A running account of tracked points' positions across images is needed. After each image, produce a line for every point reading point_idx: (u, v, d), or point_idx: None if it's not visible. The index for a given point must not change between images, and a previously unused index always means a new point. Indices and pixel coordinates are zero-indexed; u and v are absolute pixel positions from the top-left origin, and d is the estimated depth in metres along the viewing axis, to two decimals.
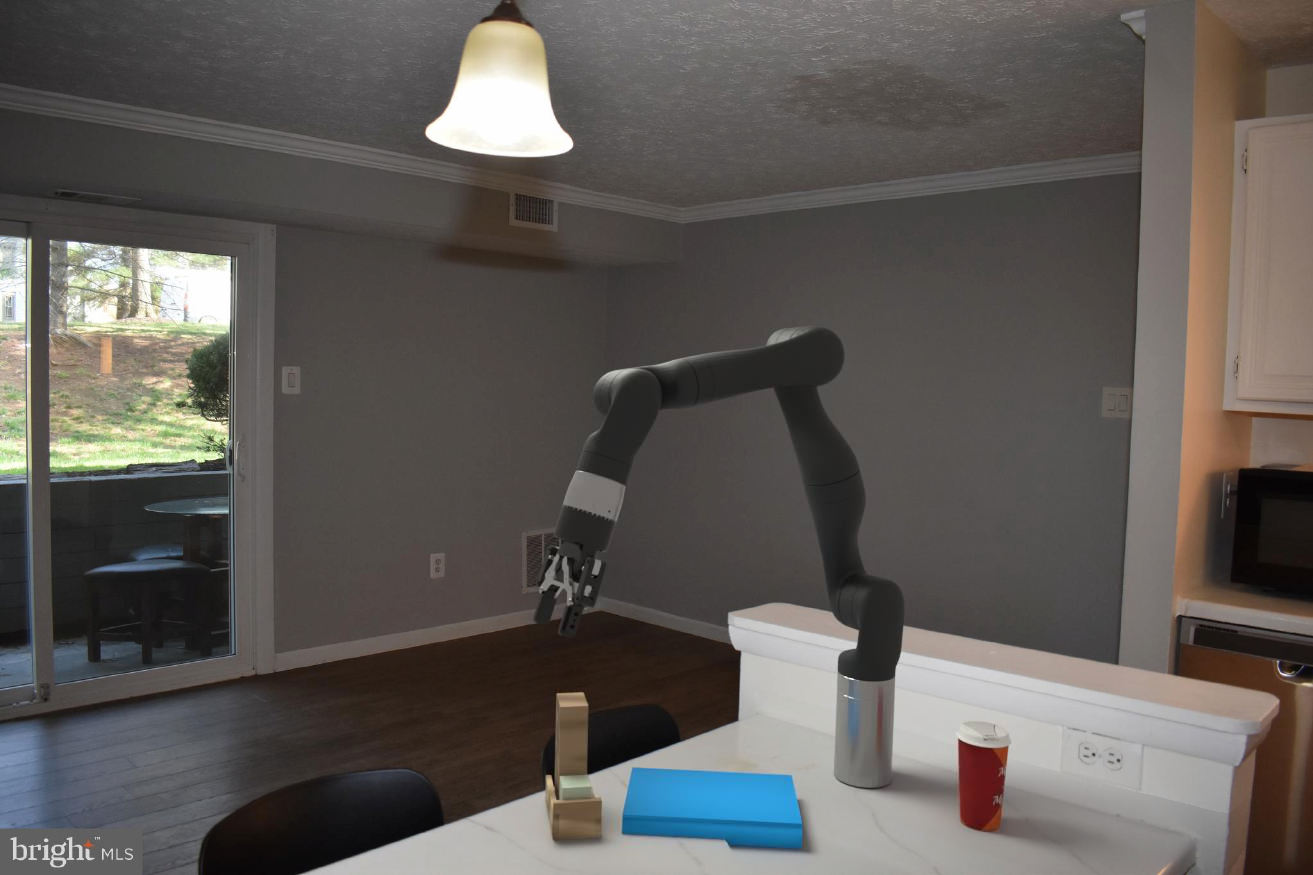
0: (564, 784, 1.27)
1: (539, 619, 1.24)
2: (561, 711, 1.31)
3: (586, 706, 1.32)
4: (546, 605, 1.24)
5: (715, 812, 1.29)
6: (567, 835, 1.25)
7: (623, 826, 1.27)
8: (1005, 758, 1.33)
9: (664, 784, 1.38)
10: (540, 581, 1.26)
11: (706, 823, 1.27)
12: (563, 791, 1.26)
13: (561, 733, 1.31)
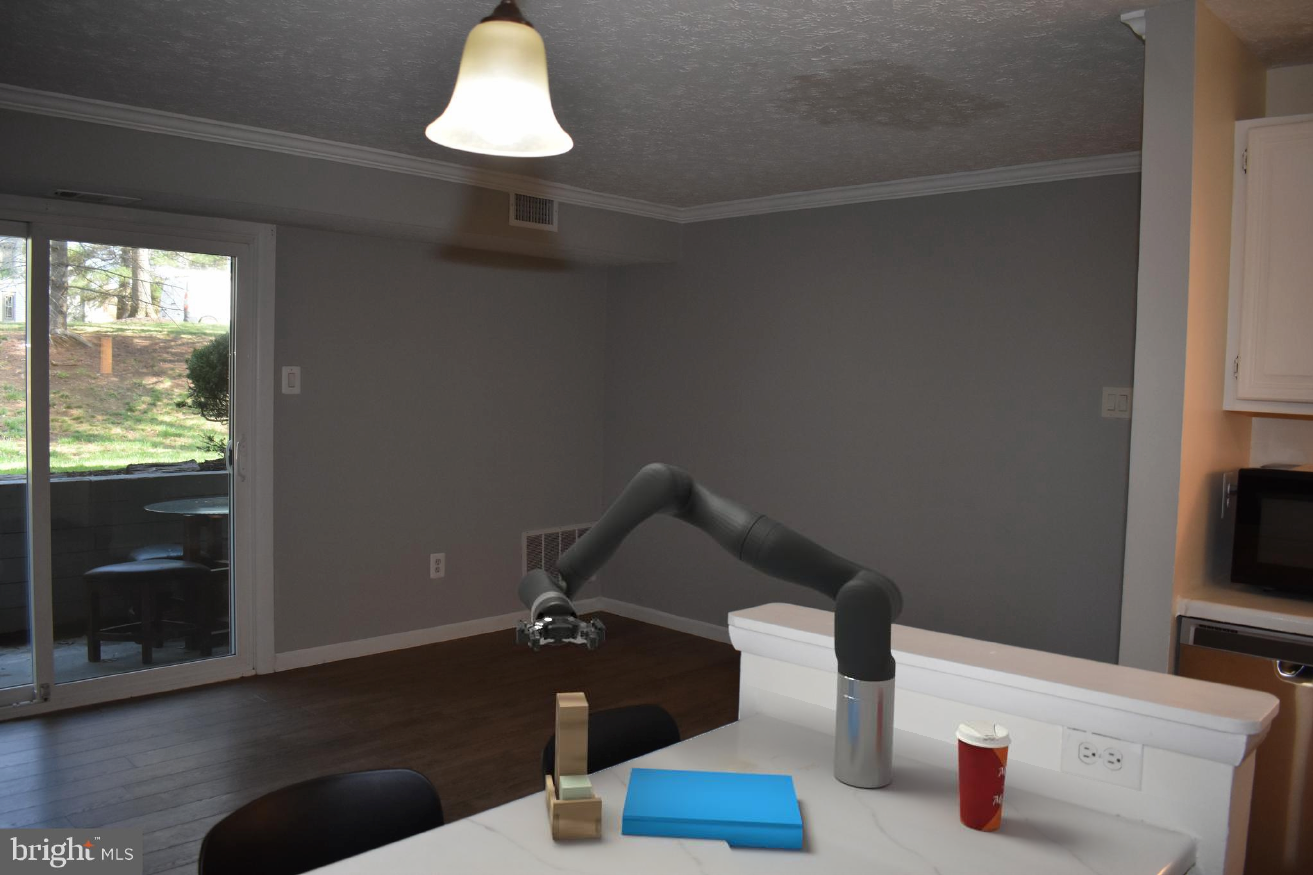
0: (564, 784, 1.27)
1: (589, 644, 1.45)
2: (561, 711, 1.31)
3: (586, 706, 1.32)
4: (587, 639, 1.47)
5: (715, 813, 1.29)
6: (567, 835, 1.25)
7: (623, 827, 1.27)
8: (1005, 758, 1.33)
9: (664, 785, 1.38)
10: (597, 640, 1.50)
11: (706, 823, 1.27)
12: (563, 791, 1.26)
13: (561, 733, 1.31)
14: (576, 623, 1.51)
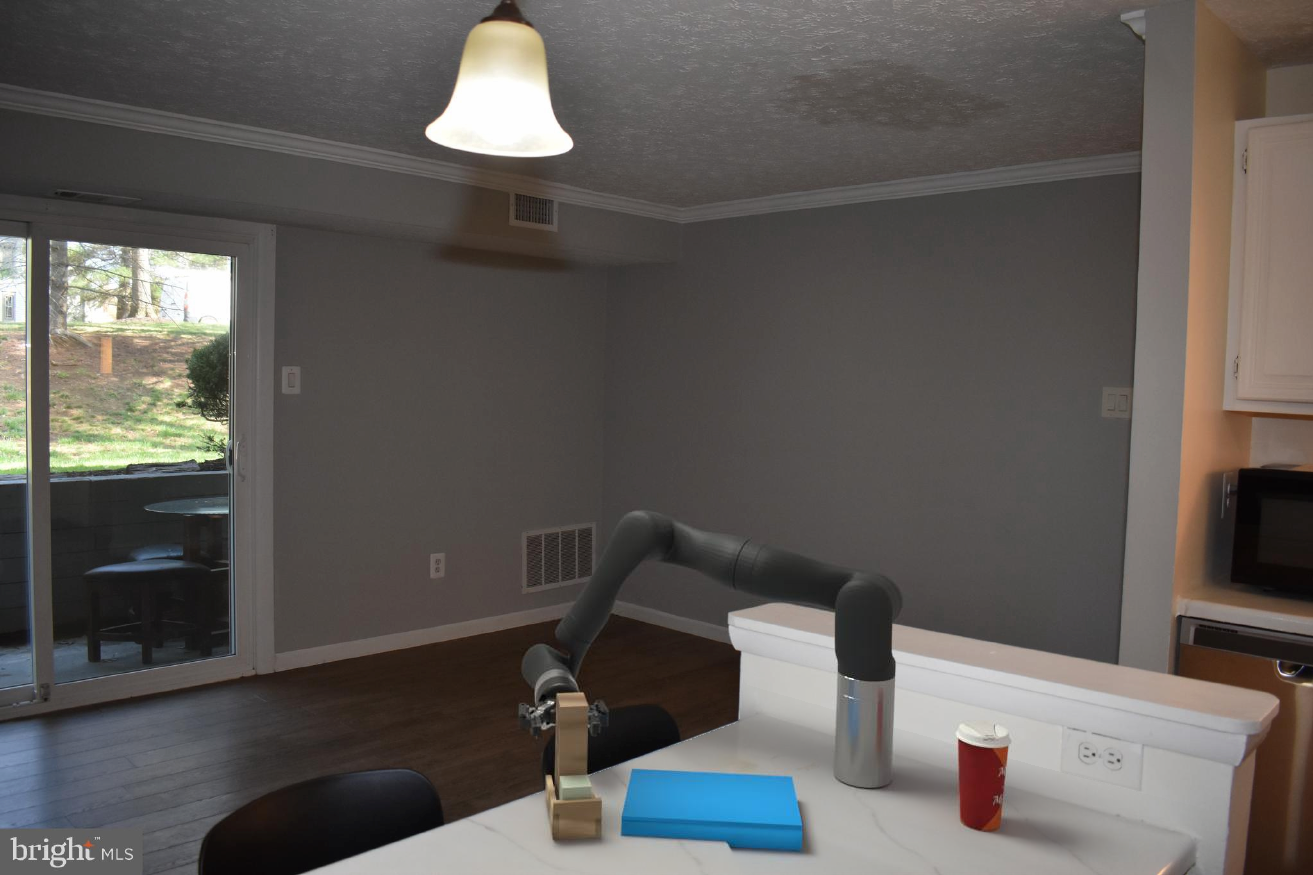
0: (564, 784, 1.27)
1: (591, 731, 1.42)
2: (561, 711, 1.31)
3: (586, 706, 1.32)
4: (590, 724, 1.44)
5: (715, 814, 1.29)
6: (567, 835, 1.25)
7: (622, 828, 1.27)
8: (1005, 758, 1.33)
9: (664, 786, 1.37)
10: None
11: (706, 824, 1.27)
12: (563, 791, 1.26)
13: (561, 733, 1.31)
14: None
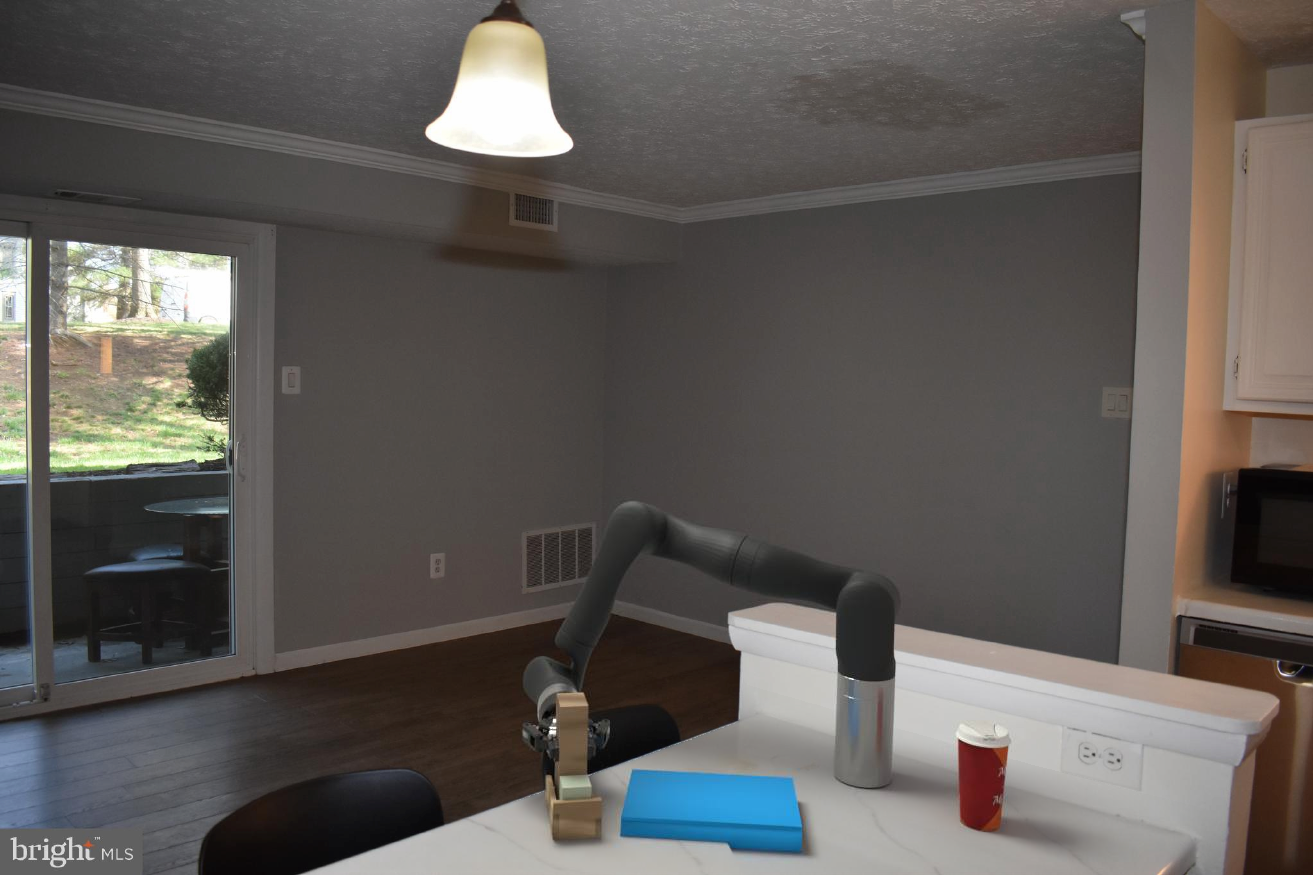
0: (564, 784, 1.27)
1: None
2: (561, 711, 1.31)
3: (586, 706, 1.32)
4: None
5: (714, 815, 1.28)
6: (567, 835, 1.25)
7: (622, 829, 1.27)
8: (1005, 758, 1.33)
9: (664, 786, 1.37)
10: None
11: (705, 825, 1.26)
12: (563, 791, 1.26)
13: (561, 733, 1.31)
14: None
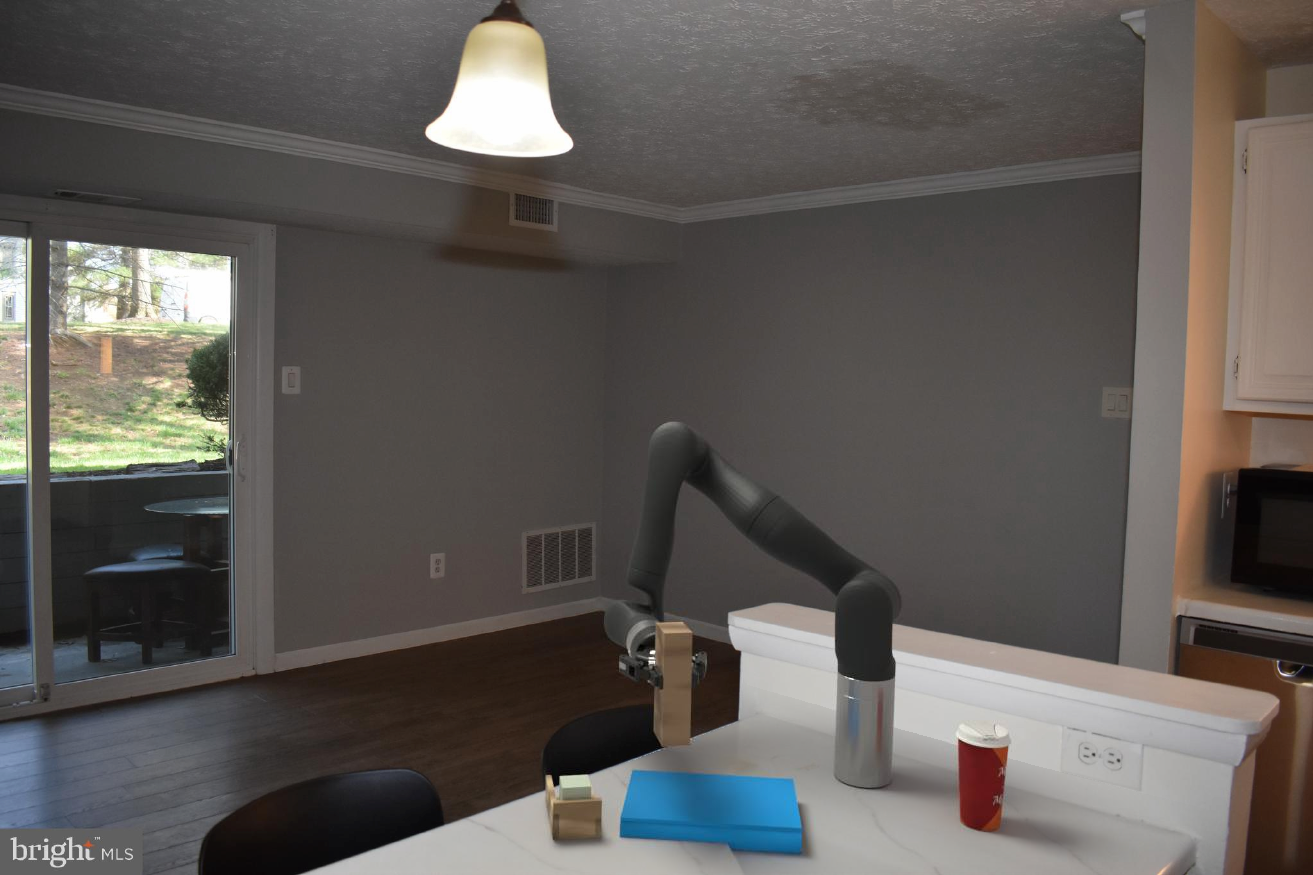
0: (564, 784, 1.27)
1: None
2: (665, 638, 1.28)
3: (690, 633, 1.29)
4: None
5: (714, 816, 1.28)
6: (567, 835, 1.25)
7: (621, 829, 1.26)
8: (1005, 758, 1.33)
9: (664, 787, 1.37)
10: None
11: (705, 826, 1.26)
12: (563, 791, 1.26)
13: (665, 660, 1.28)
14: None
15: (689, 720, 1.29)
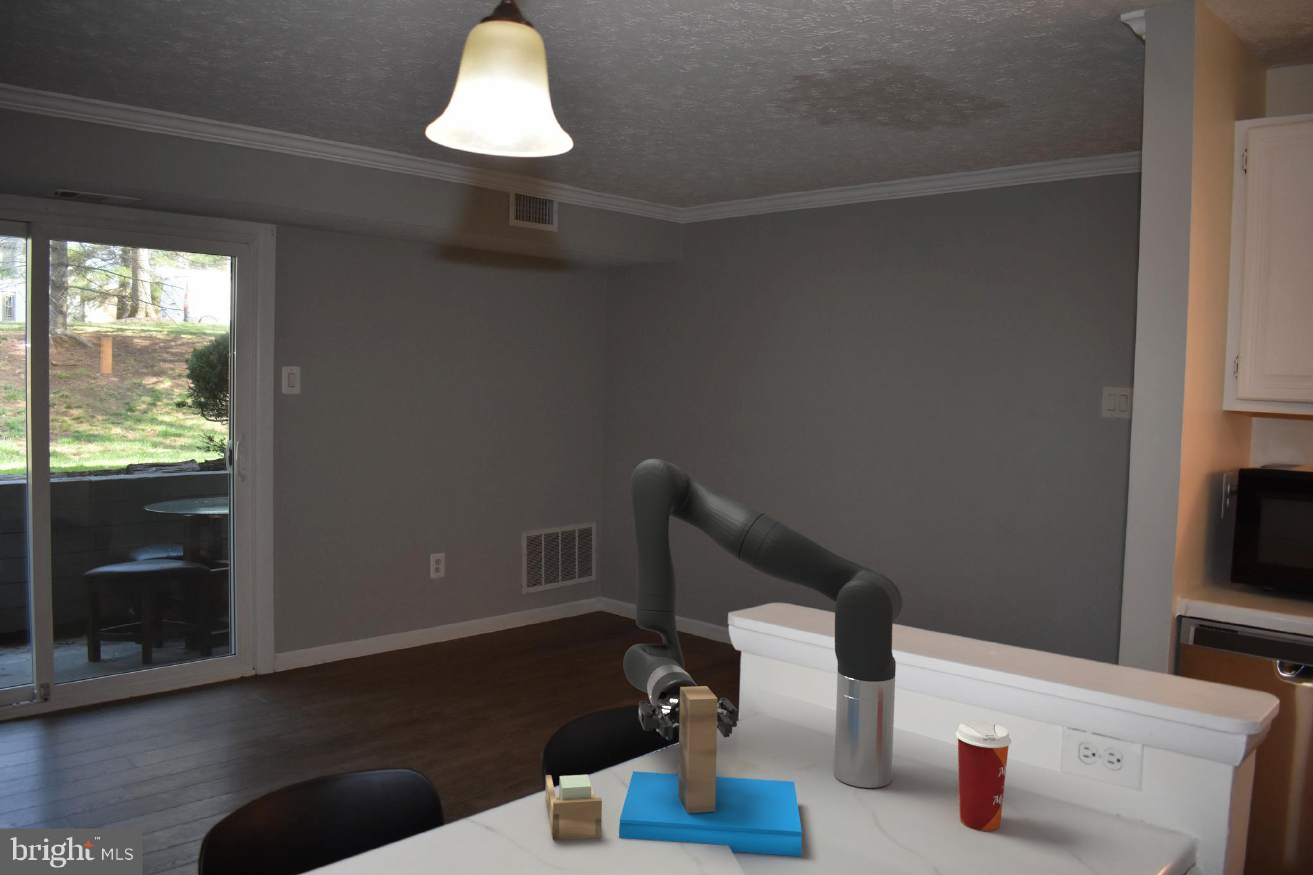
0: (564, 784, 1.27)
1: (724, 732, 1.31)
2: (690, 704, 1.28)
3: (715, 699, 1.29)
4: (720, 724, 1.33)
5: (713, 818, 1.28)
6: (567, 835, 1.25)
7: (620, 831, 1.26)
8: (1005, 758, 1.33)
9: (664, 789, 1.37)
10: None
11: (704, 829, 1.25)
12: (563, 791, 1.26)
13: (690, 726, 1.28)
14: None
15: (714, 786, 1.29)
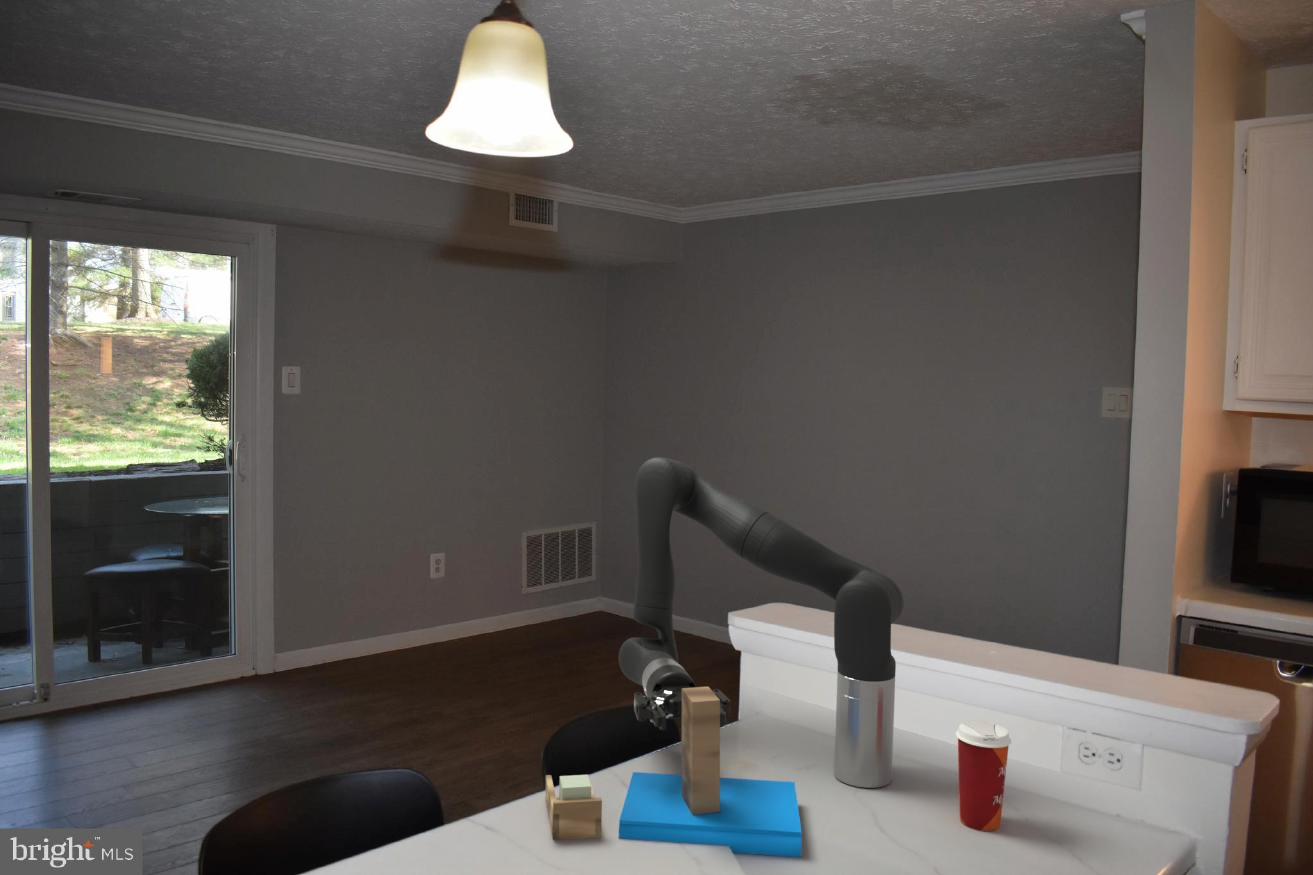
0: (564, 784, 1.27)
1: None
2: (693, 706, 1.28)
3: (718, 700, 1.28)
4: None
5: (713, 819, 1.27)
6: (567, 835, 1.25)
7: (620, 832, 1.26)
8: (1005, 758, 1.33)
9: (664, 790, 1.36)
10: None
11: (704, 830, 1.25)
12: (563, 791, 1.26)
13: (693, 729, 1.28)
14: None
15: (718, 787, 1.29)
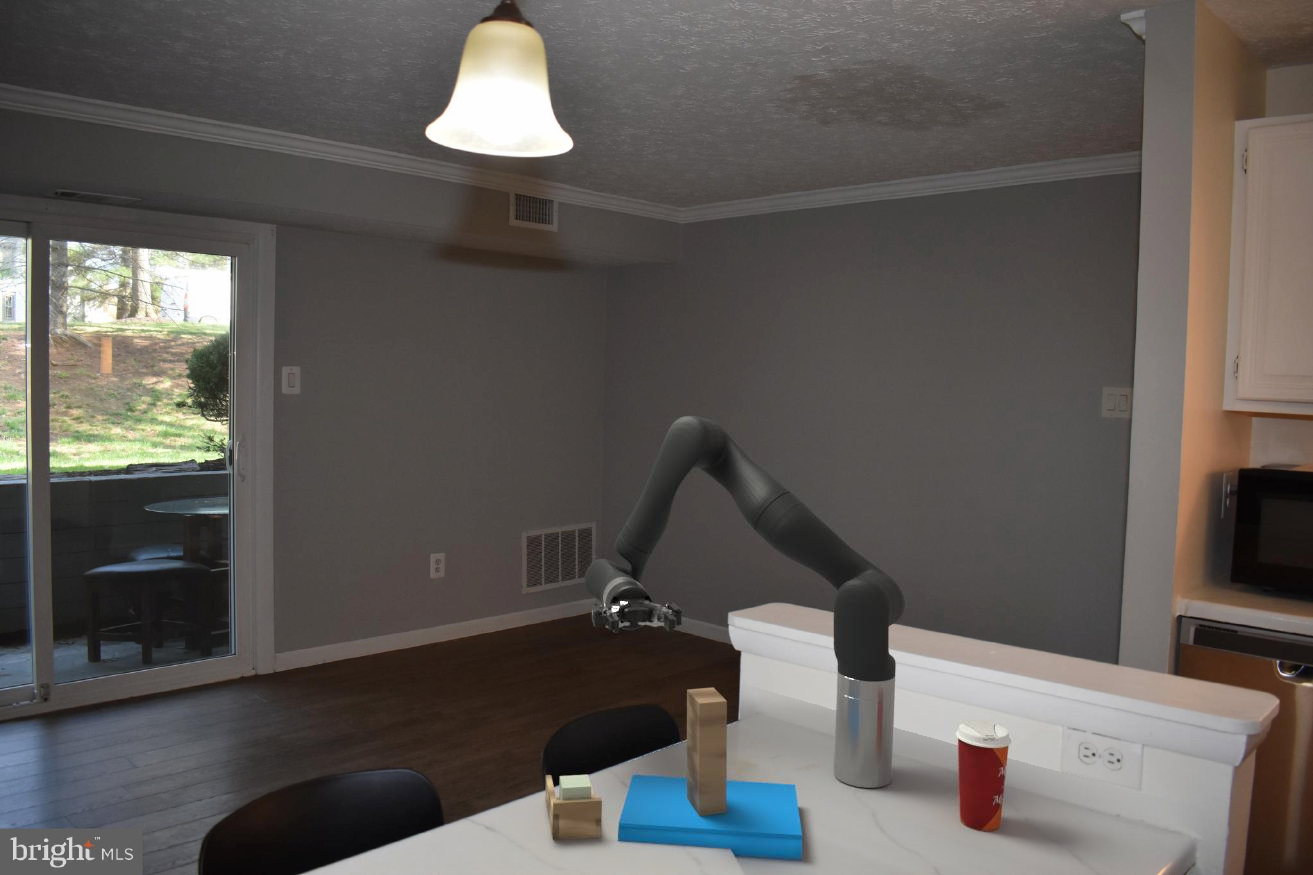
0: (564, 784, 1.27)
1: (668, 626, 1.44)
2: (700, 708, 1.27)
3: (724, 701, 1.28)
4: (665, 621, 1.46)
5: (713, 822, 1.27)
6: (567, 835, 1.25)
7: (619, 835, 1.25)
8: (1005, 758, 1.33)
9: (664, 792, 1.36)
10: None
11: (704, 833, 1.25)
12: (563, 791, 1.26)
13: (701, 730, 1.28)
14: (653, 606, 1.49)
15: (725, 788, 1.29)
